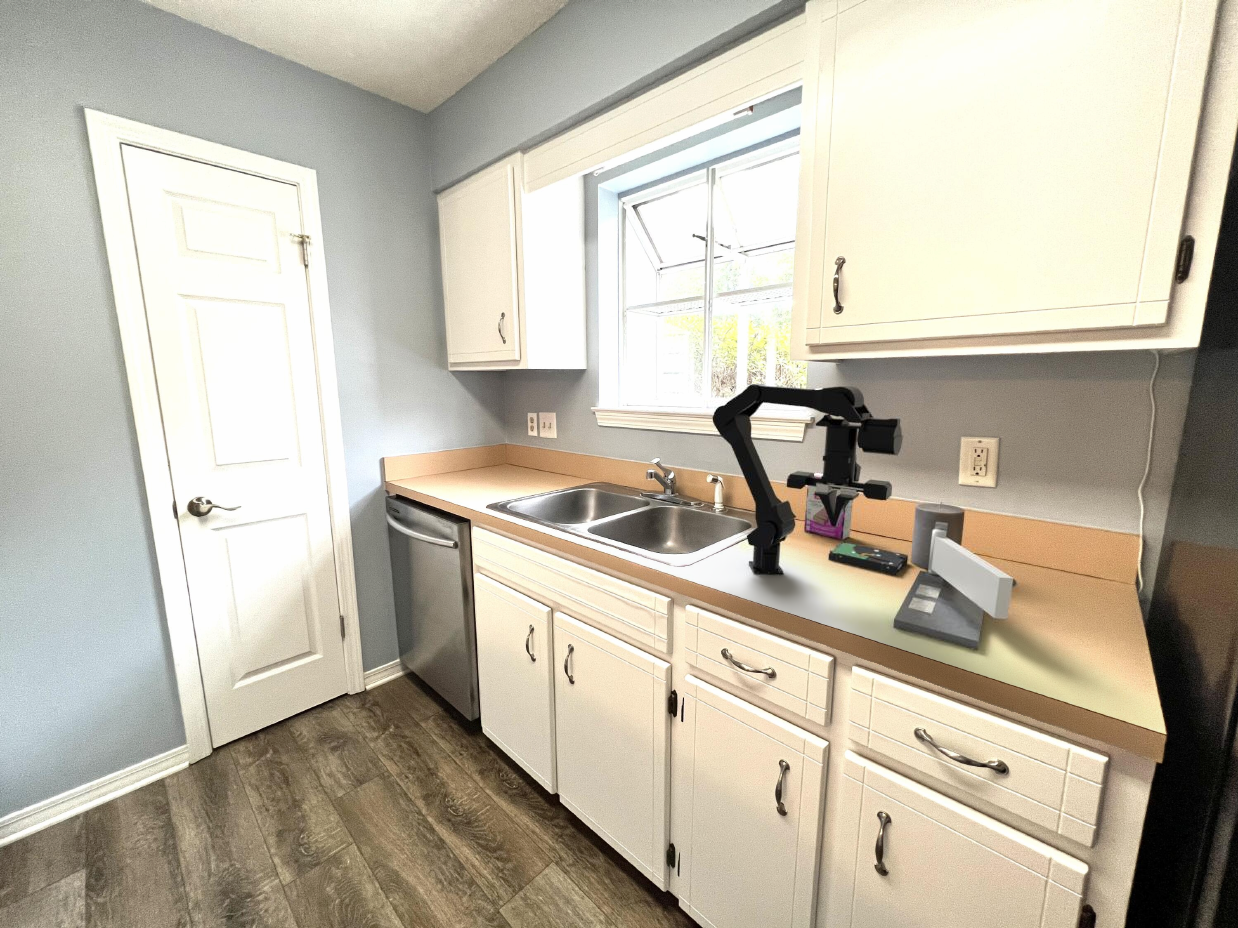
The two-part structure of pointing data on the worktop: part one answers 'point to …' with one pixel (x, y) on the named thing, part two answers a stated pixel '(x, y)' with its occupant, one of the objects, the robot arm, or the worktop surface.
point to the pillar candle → (926, 523)
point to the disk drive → (869, 558)
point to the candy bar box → (825, 516)
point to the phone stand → (940, 610)
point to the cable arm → (971, 575)
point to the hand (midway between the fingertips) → (834, 526)
